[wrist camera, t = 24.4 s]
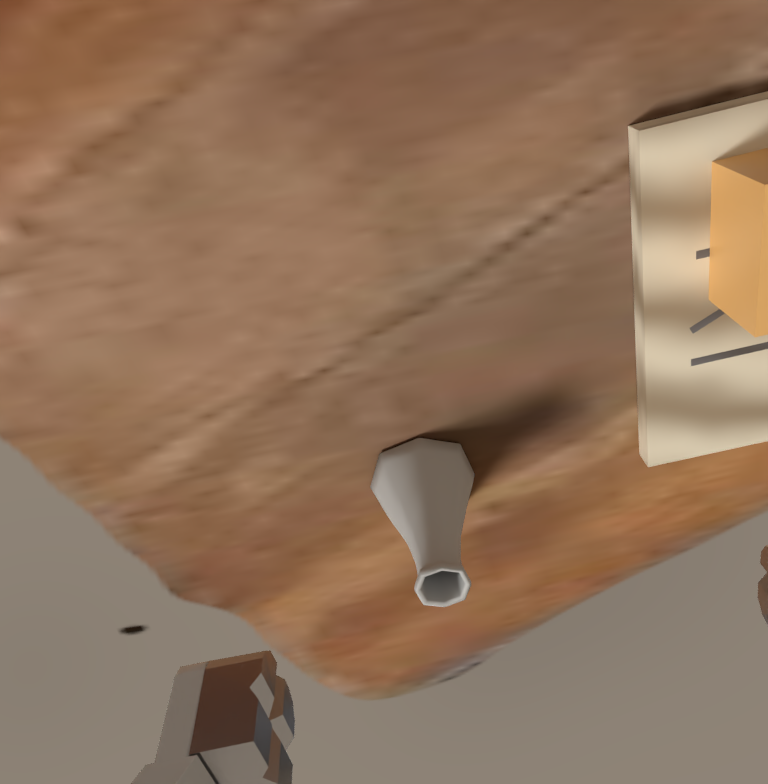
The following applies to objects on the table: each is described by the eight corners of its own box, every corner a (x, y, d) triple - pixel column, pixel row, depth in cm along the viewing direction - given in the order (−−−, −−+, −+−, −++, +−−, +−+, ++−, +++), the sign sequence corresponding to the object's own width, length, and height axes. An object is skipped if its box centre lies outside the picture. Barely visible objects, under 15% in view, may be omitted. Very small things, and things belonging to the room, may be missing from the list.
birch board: (628, 125, 35) (639, 130, 34) (859, 68, 35) (880, 71, 33) (639, 453, 47) (648, 467, 45) (814, 415, 46) (828, 427, 45)
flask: (472, 428, 45) (506, 532, 36) (475, 511, 48) (507, 623, 40) (364, 441, 45) (372, 549, 36) (375, 524, 48) (385, 638, 40)
